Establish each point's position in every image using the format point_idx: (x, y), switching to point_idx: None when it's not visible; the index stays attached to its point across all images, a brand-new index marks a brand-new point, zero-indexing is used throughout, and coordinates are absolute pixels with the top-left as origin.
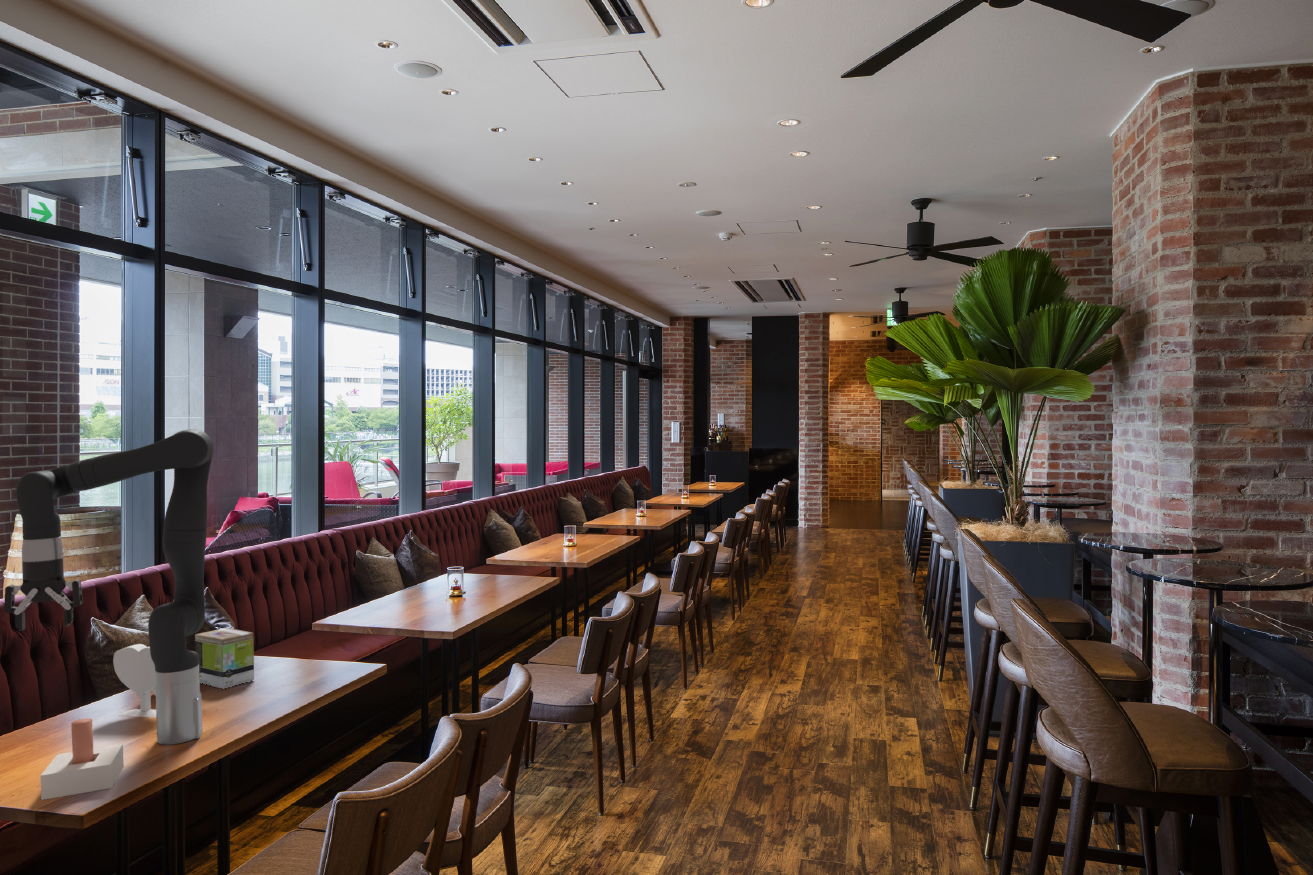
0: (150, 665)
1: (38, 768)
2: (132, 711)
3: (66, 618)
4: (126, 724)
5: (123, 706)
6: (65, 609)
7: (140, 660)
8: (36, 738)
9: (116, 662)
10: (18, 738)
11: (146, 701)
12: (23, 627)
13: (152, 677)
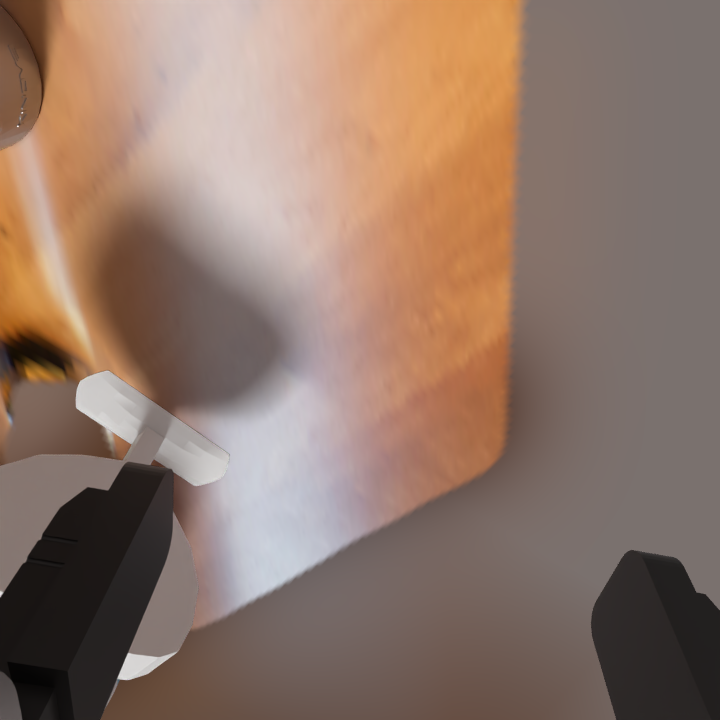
0: (41, 522)
1: (432, 40)
2: (191, 455)
3: (96, 538)
4: (193, 357)
5: (229, 524)
6: (42, 706)
7: None
8: (441, 393)
9: (181, 612)
10: (487, 425)
11: (133, 448)
12: (626, 595)
13: (59, 480)
